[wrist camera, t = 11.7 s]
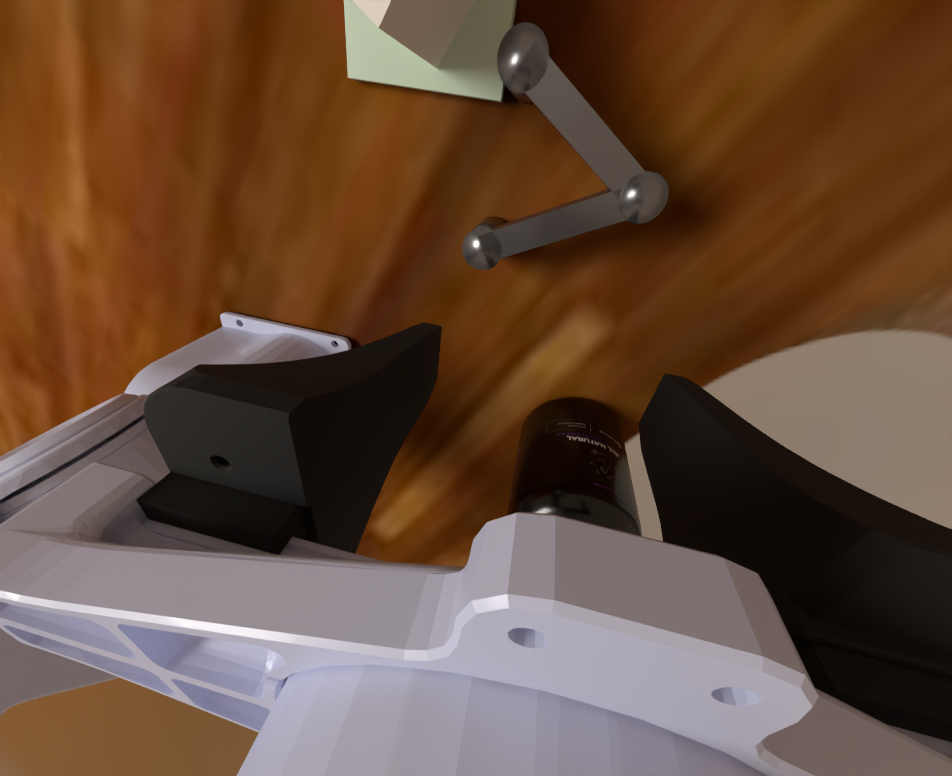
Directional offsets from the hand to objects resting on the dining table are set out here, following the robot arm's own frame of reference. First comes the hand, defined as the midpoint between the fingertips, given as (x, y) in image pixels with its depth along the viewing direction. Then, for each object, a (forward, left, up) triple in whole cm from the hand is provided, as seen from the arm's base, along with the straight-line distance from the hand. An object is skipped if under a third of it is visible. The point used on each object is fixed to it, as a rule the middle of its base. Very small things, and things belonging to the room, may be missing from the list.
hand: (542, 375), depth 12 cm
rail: (0, +5, -10) cm, 11 cm away
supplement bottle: (+4, -10, -10) cm, 15 cm away
